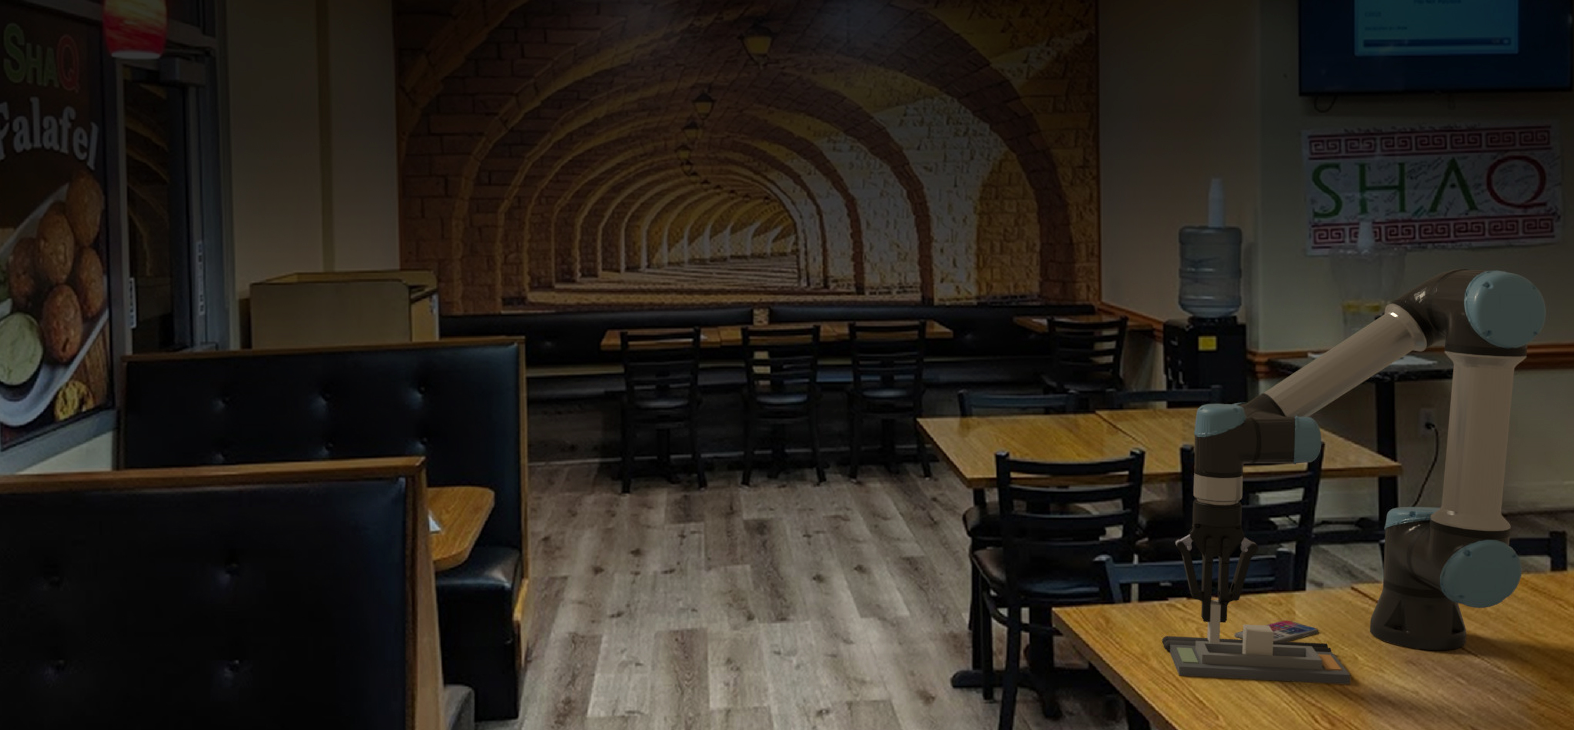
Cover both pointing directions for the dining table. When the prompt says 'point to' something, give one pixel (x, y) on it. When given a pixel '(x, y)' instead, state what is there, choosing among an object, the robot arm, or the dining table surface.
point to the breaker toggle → (1257, 640)
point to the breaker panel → (1258, 663)
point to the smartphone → (1287, 631)
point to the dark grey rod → (1242, 641)
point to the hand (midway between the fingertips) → (1213, 640)
